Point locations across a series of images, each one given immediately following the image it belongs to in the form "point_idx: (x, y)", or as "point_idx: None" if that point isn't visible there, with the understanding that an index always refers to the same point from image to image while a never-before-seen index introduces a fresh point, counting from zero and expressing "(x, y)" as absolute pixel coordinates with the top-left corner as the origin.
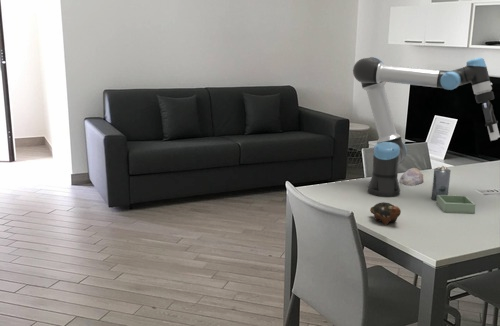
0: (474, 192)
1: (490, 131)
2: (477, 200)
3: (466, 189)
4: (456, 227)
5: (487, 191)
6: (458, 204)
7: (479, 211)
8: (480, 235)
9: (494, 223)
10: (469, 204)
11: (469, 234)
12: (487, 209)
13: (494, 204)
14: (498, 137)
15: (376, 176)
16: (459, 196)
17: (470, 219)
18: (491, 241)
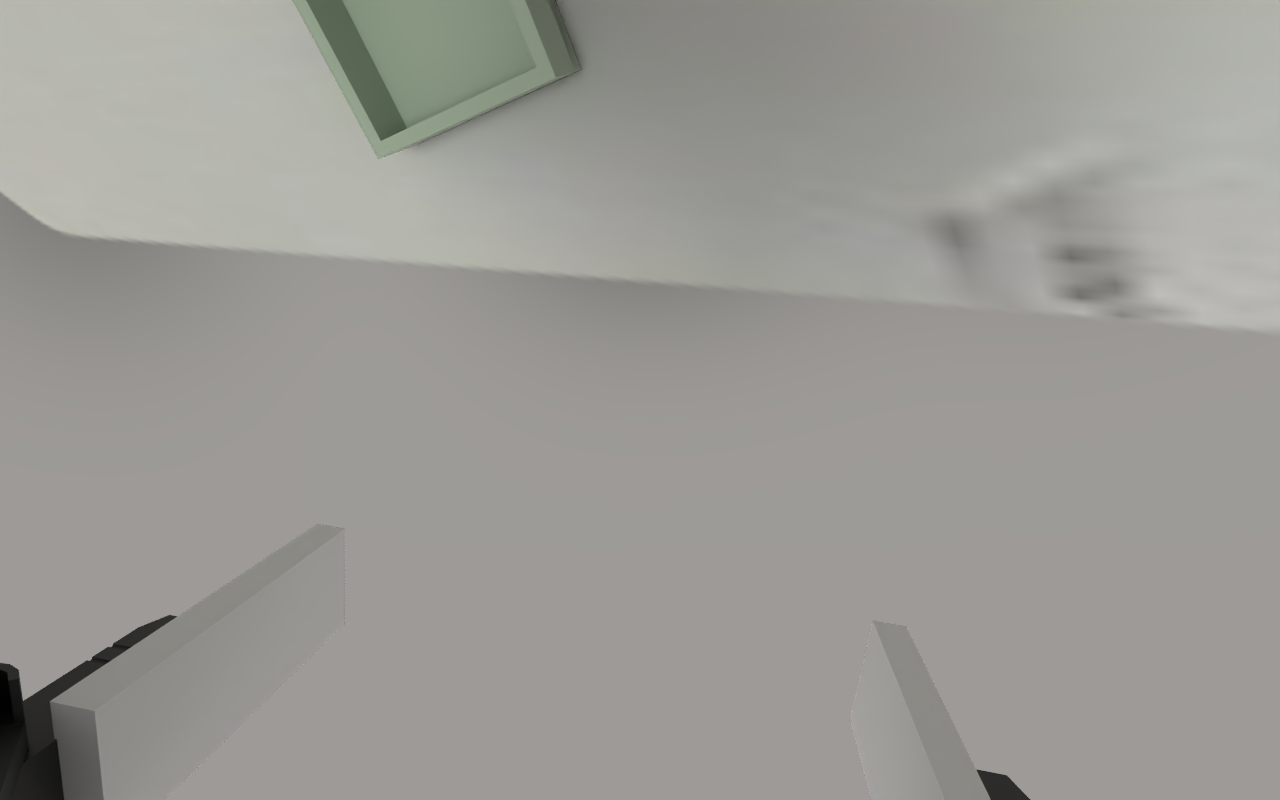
0: (1000, 141)
1: (133, 640)
2: (737, 166)
3: (1112, 58)
4: (114, 44)
5: (1066, 253)
6: (313, 31)
7: (476, 177)
8: (115, 175)
9: (322, 250)
10: (356, 115)
11: (83, 122)
12: (546, 228)
13: (684, 278)
14: (856, 700)
15: None
16: (519, 21)
17: (293, 121)
18: (91, 221)
